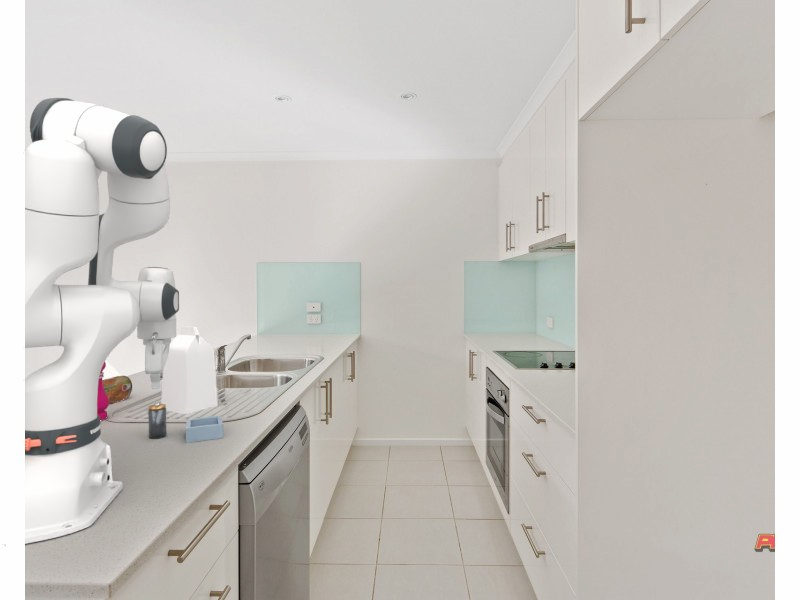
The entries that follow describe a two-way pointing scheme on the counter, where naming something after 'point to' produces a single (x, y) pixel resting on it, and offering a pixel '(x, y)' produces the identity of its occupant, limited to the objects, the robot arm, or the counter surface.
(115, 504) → the counter surface
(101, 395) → the pepper mill
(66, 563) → the counter surface
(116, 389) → the tin
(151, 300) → the robot arm
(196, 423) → the light blue square tray
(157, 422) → the cell
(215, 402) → the milk
